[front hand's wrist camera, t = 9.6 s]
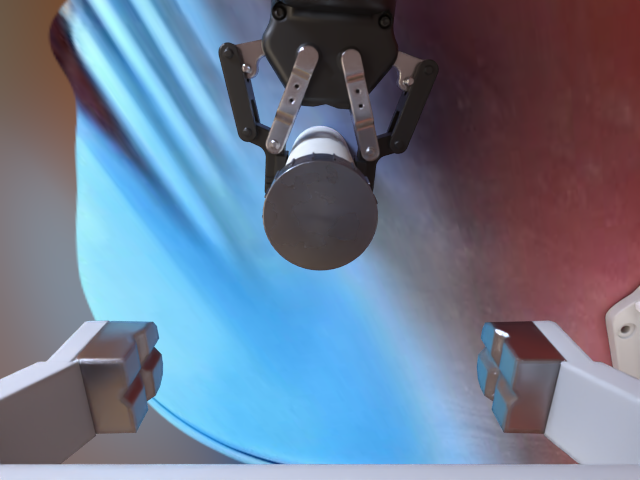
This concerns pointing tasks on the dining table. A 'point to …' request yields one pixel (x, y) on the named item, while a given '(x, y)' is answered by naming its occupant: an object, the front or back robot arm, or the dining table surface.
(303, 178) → the lid
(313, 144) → the white cylinder
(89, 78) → the dining table surface
